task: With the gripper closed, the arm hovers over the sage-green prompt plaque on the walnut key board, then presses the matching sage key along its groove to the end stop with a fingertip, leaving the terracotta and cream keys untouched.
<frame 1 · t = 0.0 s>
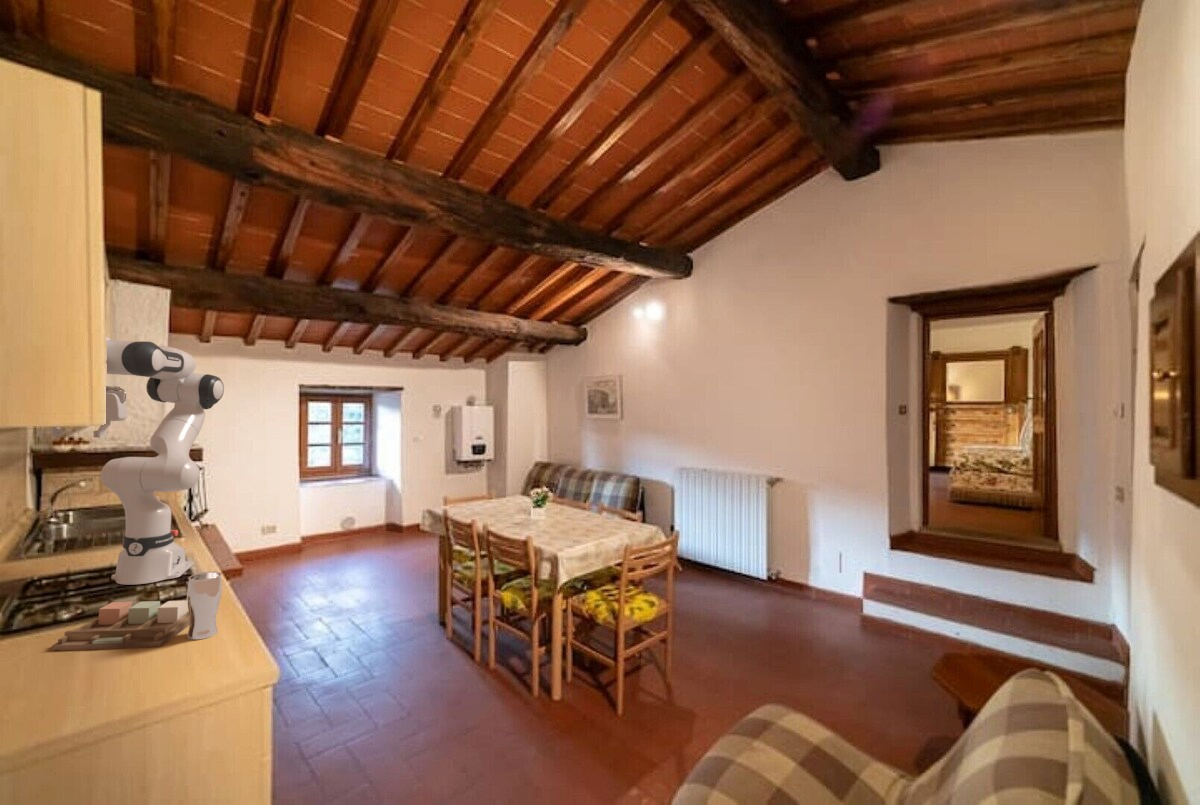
hand: (78, 436, 136), 48 cm above the counter, fingers open, 8 cm apart
key sage: (144, 612, 134), point 3 cm above the counter, slide at 0.0 cm
beer glass: (202, 635, 131), on the counter
key cream: (172, 611, 136), point 3 cm above the counter, slide at 0.0 cm
key terracotta: (115, 613, 133), point 3 cm above the counter, slide at 0.0 cm
key board: (133, 631, 130), on the counter
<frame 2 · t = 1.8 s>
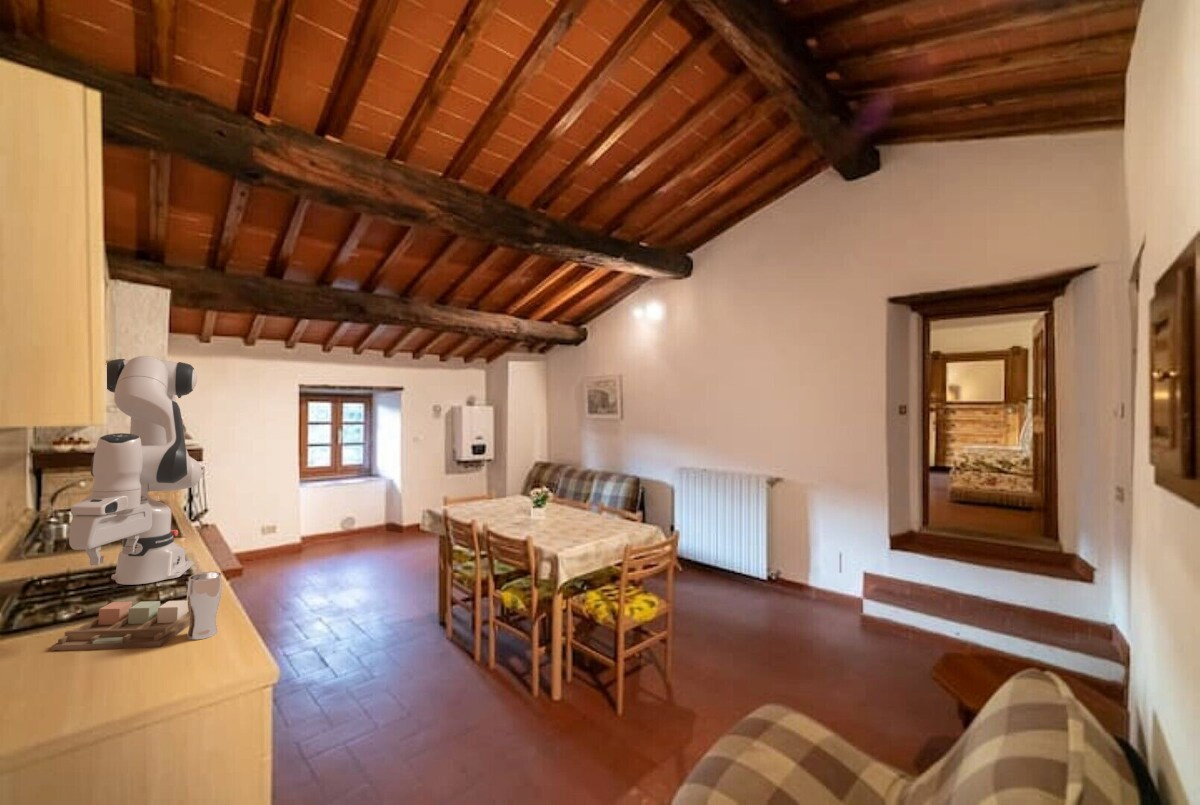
hand: (112, 558, 124), 20 cm above the counter, fingers open, 8 cm apart
nothing on the counter moved.
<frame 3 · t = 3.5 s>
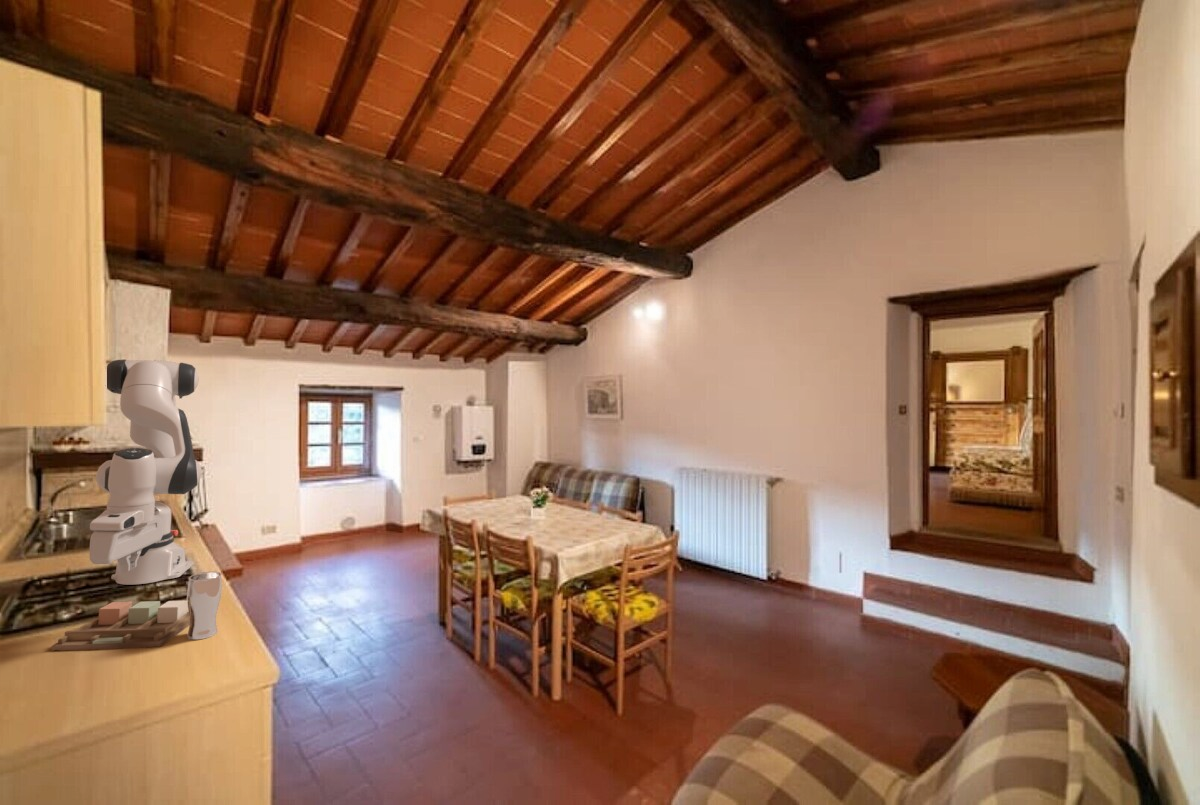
hand: (128, 569, 128), 16 cm above the counter, fingers closed
nothing on the counter moved.
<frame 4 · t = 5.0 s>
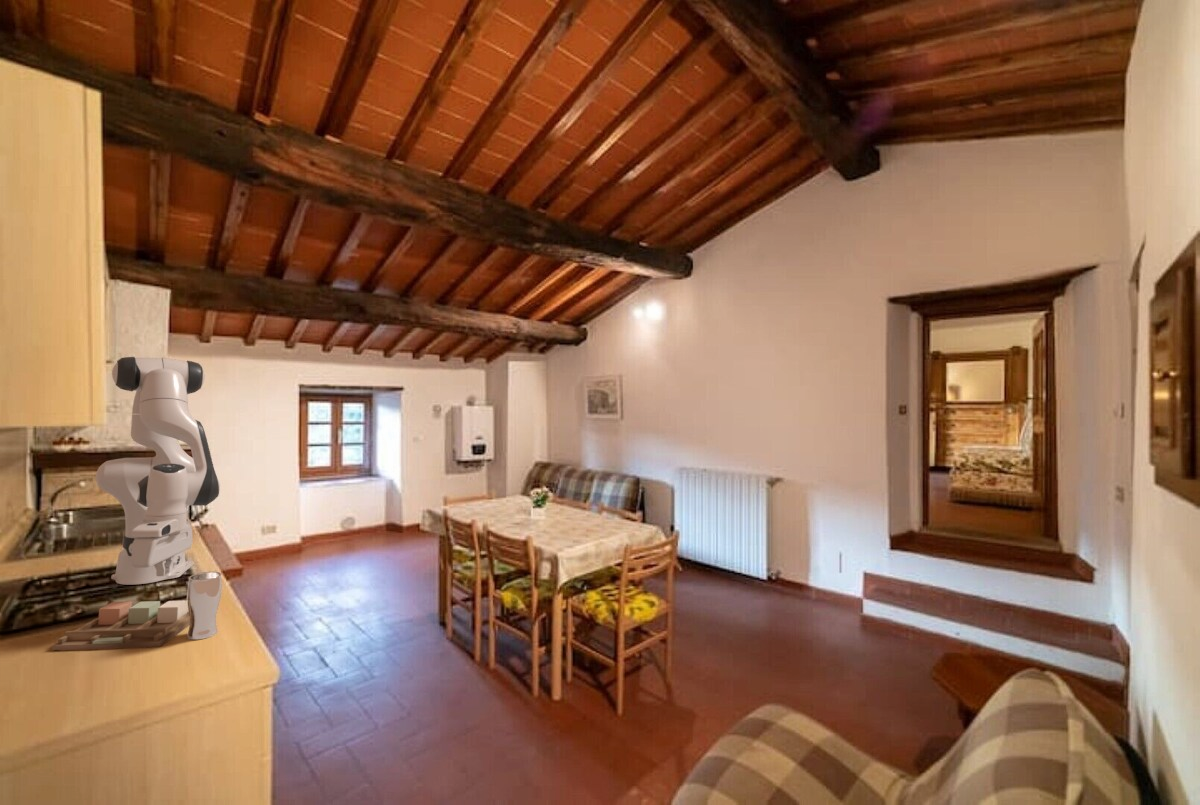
hand: (163, 574, 141), 11 cm above the counter, fingers closed
nothing on the counter moved.
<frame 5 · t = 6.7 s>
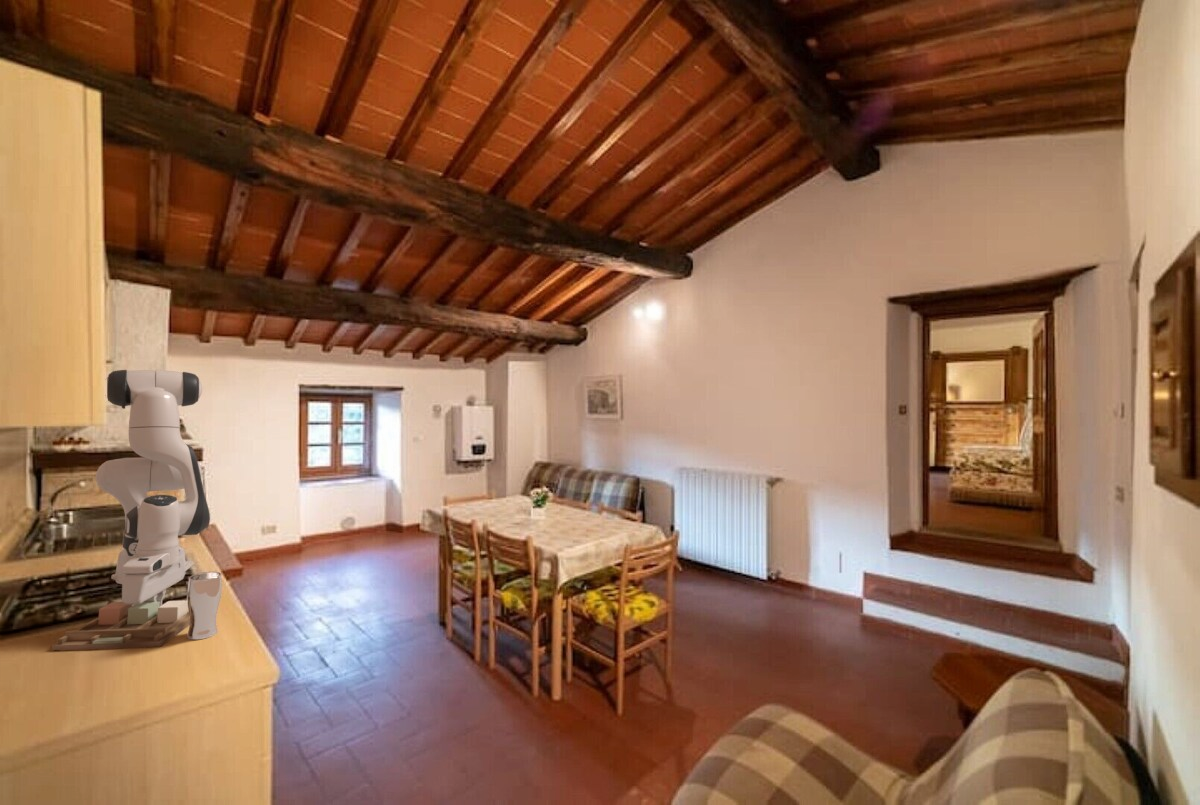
hand: (154, 608, 138), 3 cm above the counter, fingers closed
key sage: (143, 612, 134), point 3 cm above the counter, slide at 0.3 cm, touching gripper
everything else where it was.
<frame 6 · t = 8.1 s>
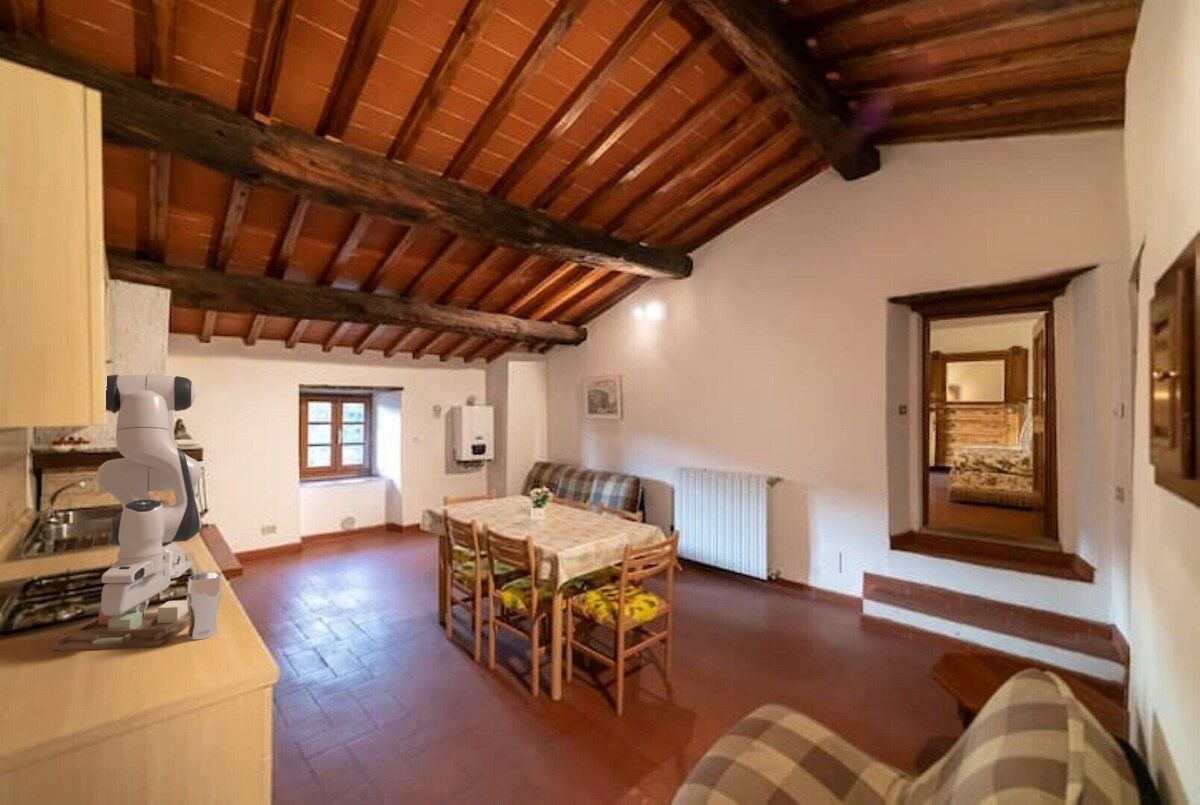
hand: (137, 619, 131), 3 cm above the counter, fingers closed
key sage: (125, 623, 127), point 3 cm above the counter, slide at 7.0 cm, touching gripper
everything else where it was.
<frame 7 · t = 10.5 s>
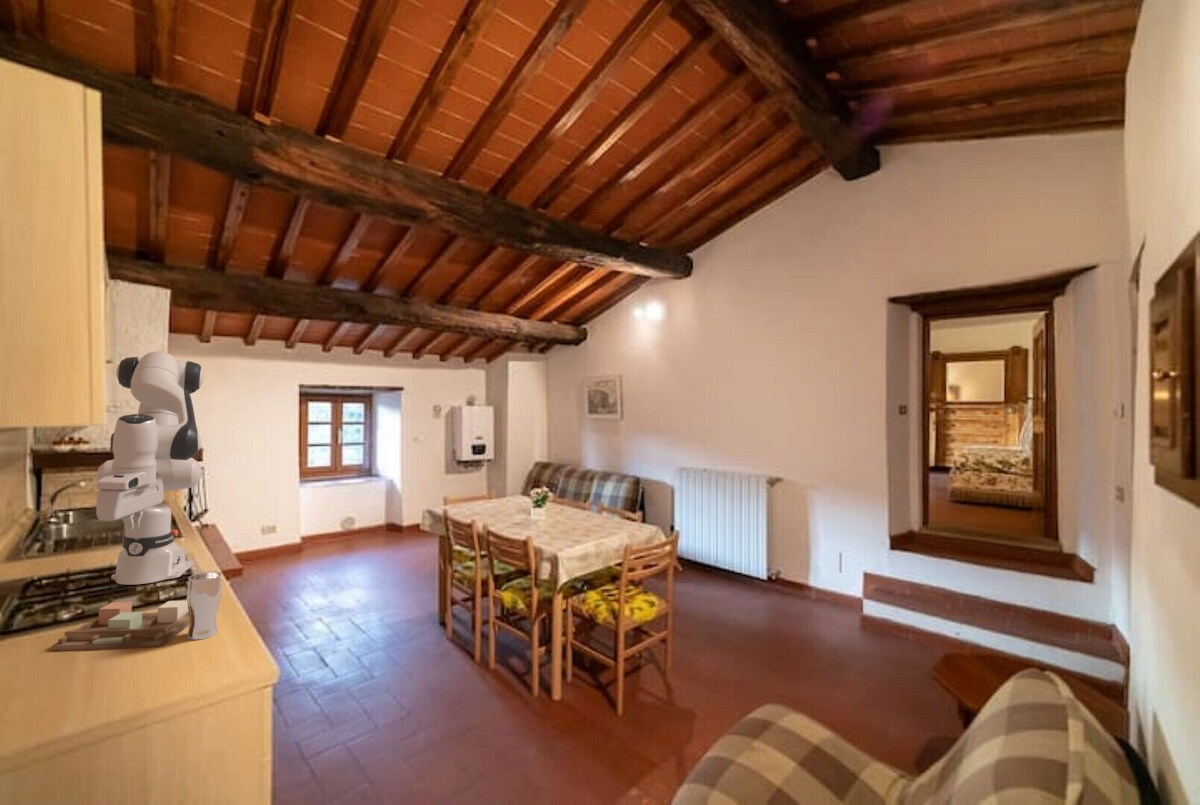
hand: (131, 528, 136), 25 cm above the counter, fingers closed
key sage: (125, 623, 127), point 3 cm above the counter, slide at 7.0 cm
everything else where it was.
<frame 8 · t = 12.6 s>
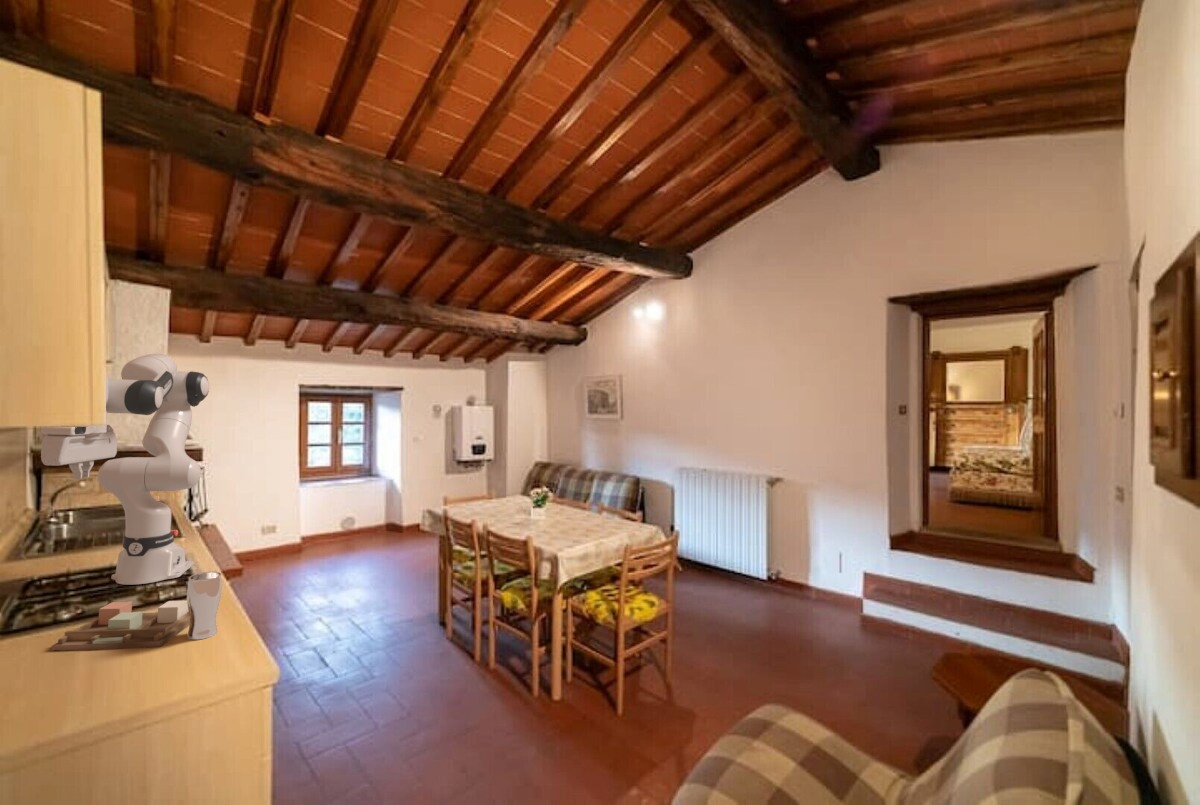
hand: (80, 478, 136), 37 cm above the counter, fingers closed
nothing on the counter moved.
at the end: key sage slide at 7.0 cm; key terracotta slide at 0.0 cm; key cream slide at 0.0 cm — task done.
